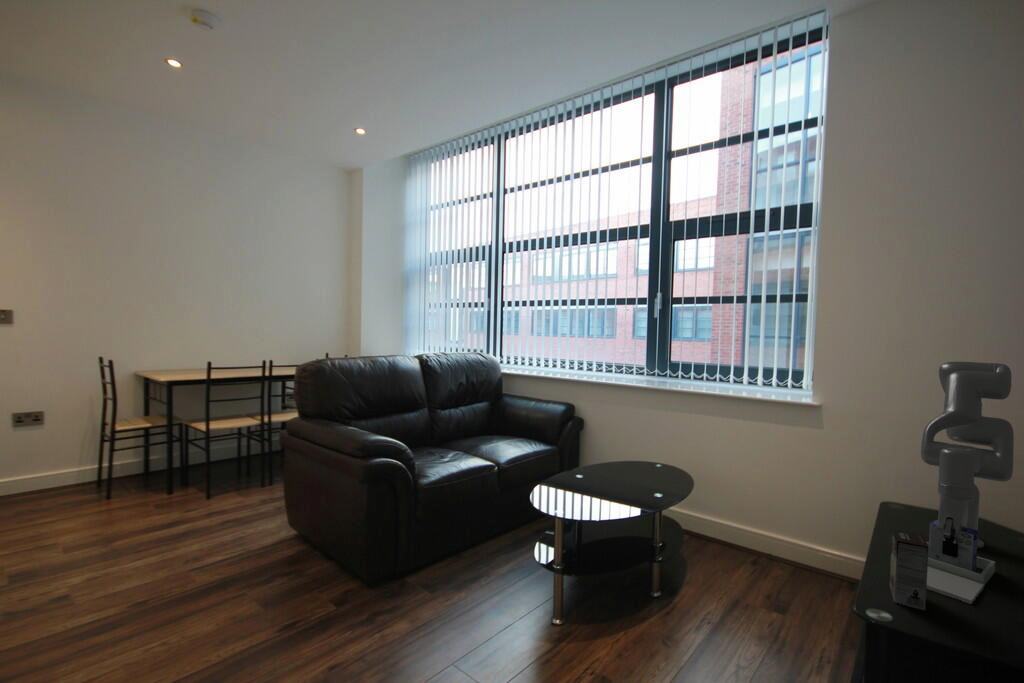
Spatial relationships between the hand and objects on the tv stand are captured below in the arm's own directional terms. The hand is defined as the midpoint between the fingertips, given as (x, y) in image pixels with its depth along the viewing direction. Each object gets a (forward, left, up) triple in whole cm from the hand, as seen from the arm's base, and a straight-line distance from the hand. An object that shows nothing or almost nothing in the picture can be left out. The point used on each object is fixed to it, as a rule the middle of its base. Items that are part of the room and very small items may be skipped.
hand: (952, 552), depth 139 cm
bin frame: (0, 0, -4) cm, 4 cm away
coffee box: (+33, -2, -5) cm, 33 cm away
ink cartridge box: (0, 0, -5) cm, 5 cm away
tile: (+15, +1, -4) cm, 16 cm away
